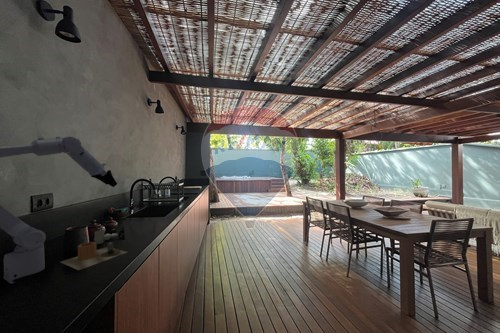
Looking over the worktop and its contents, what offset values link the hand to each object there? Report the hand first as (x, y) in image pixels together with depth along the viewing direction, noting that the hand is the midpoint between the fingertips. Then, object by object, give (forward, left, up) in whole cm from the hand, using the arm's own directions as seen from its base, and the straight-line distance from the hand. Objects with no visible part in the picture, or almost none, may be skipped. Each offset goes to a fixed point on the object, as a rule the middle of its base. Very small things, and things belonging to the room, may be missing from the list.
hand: (112, 184), depth 97 cm
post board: (-11, -6, -29) cm, 31 cm away
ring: (-12, -4, -28) cm, 30 cm away
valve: (+3, +9, -29) cm, 30 cm away
